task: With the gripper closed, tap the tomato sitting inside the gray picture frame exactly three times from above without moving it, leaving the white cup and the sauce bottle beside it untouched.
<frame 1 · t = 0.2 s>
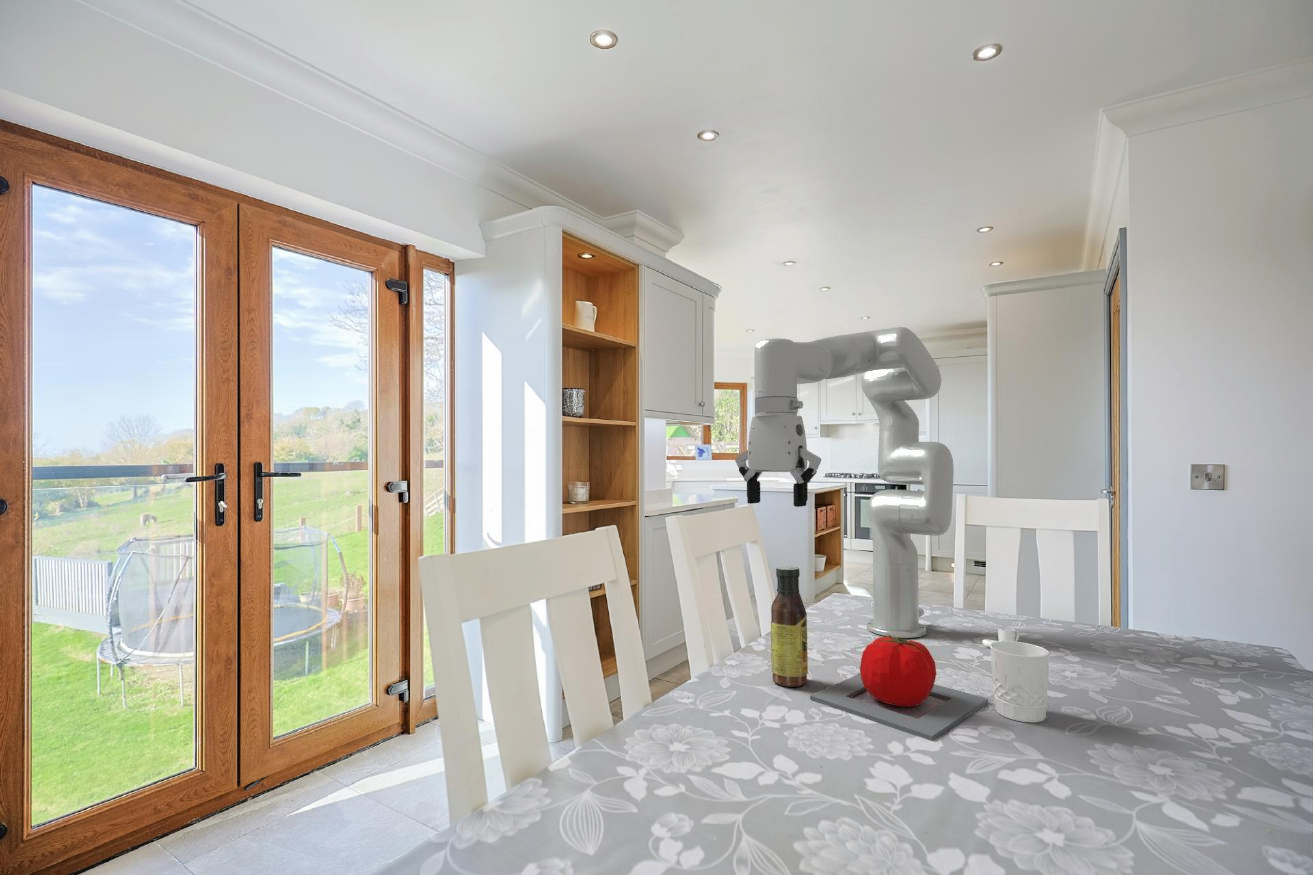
hand: (776, 504, 114), 31 cm above the table, tool pointing down, fingers open, 9 cm apart
teacup and saucer: (991, 646, 134), on the table
white cup: (1020, 715, 98), on the table
gray picture frame: (898, 700, 103), on the table
tomato: (898, 702, 103), resting in gray picture frame
sauce bottle: (789, 683, 111), on the table
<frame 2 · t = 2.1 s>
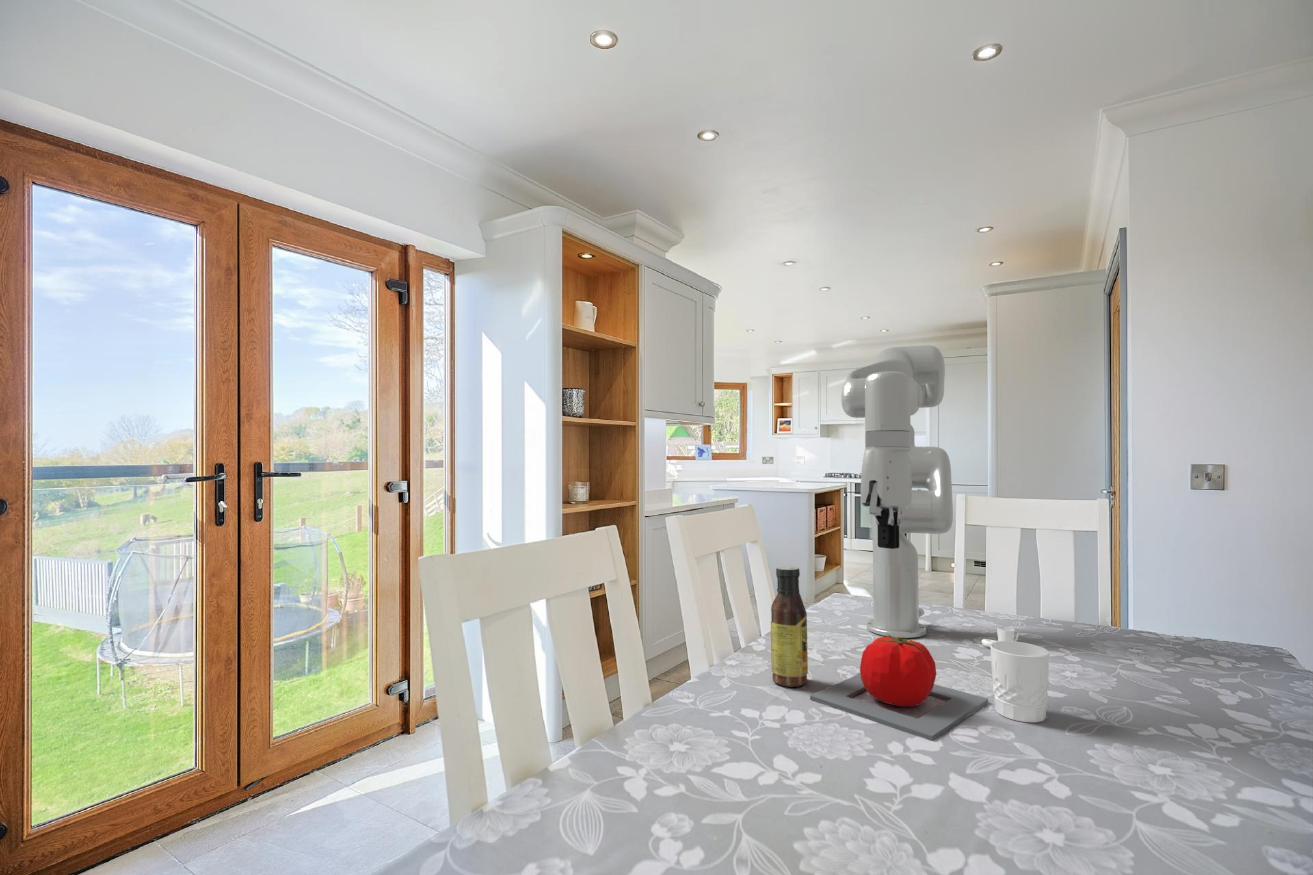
hand: (888, 547, 111), 24 cm above the table, tool pointing down, fingers closed
nothing on the table moved.
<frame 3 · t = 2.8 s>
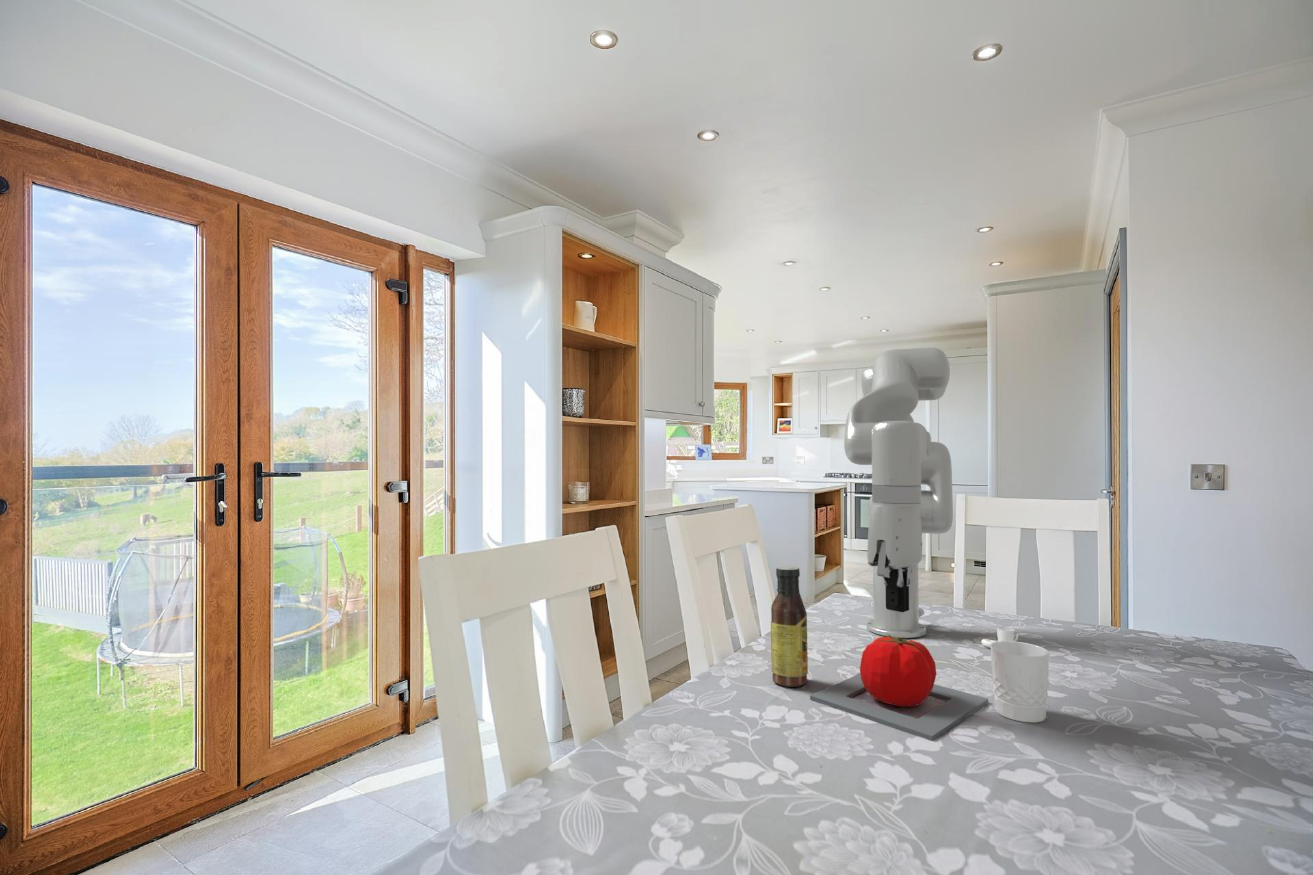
hand: (897, 609, 103), 15 cm above the table, tool pointing down, fingers closed
nothing on the table moved.
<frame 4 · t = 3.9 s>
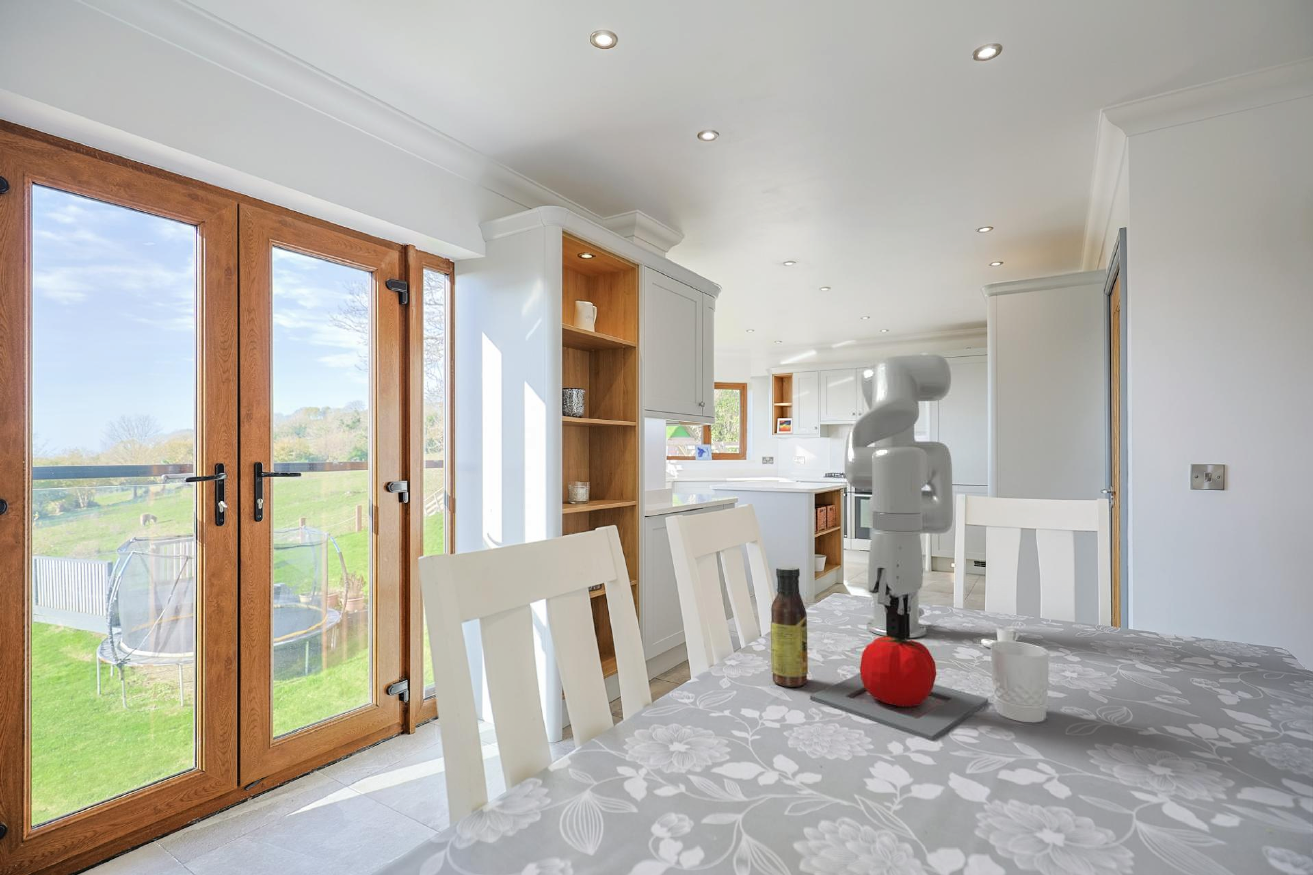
hand: (898, 637, 103), 10 cm above the table, tool pointing down, fingers closed
tomato: (898, 702, 103), resting in gray picture frame, touching gripper
everything else where it was.
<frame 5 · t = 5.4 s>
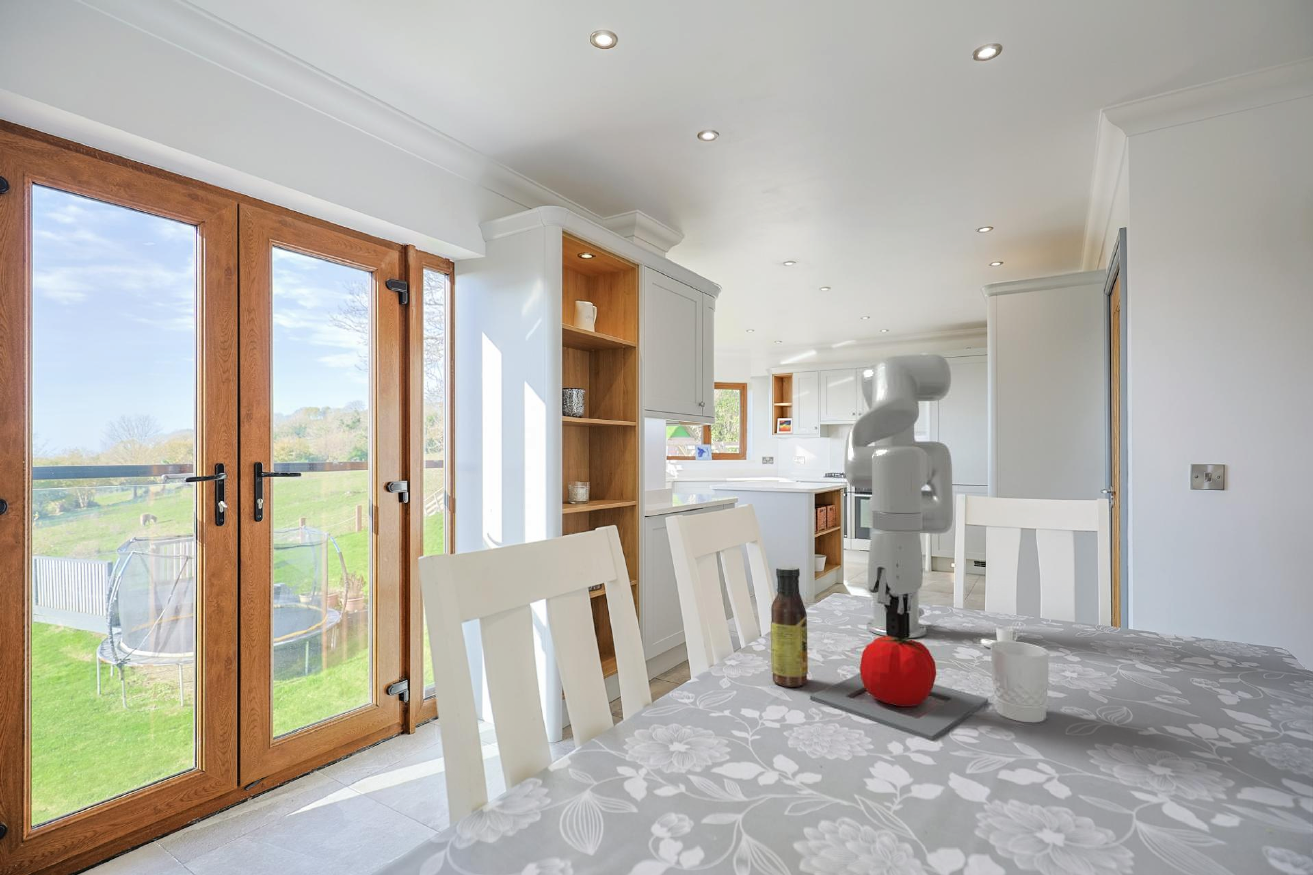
hand: (897, 636, 103), 10 cm above the table, tool pointing down, fingers closed
tomato: (898, 702, 103), resting in gray picture frame
everything else where it was.
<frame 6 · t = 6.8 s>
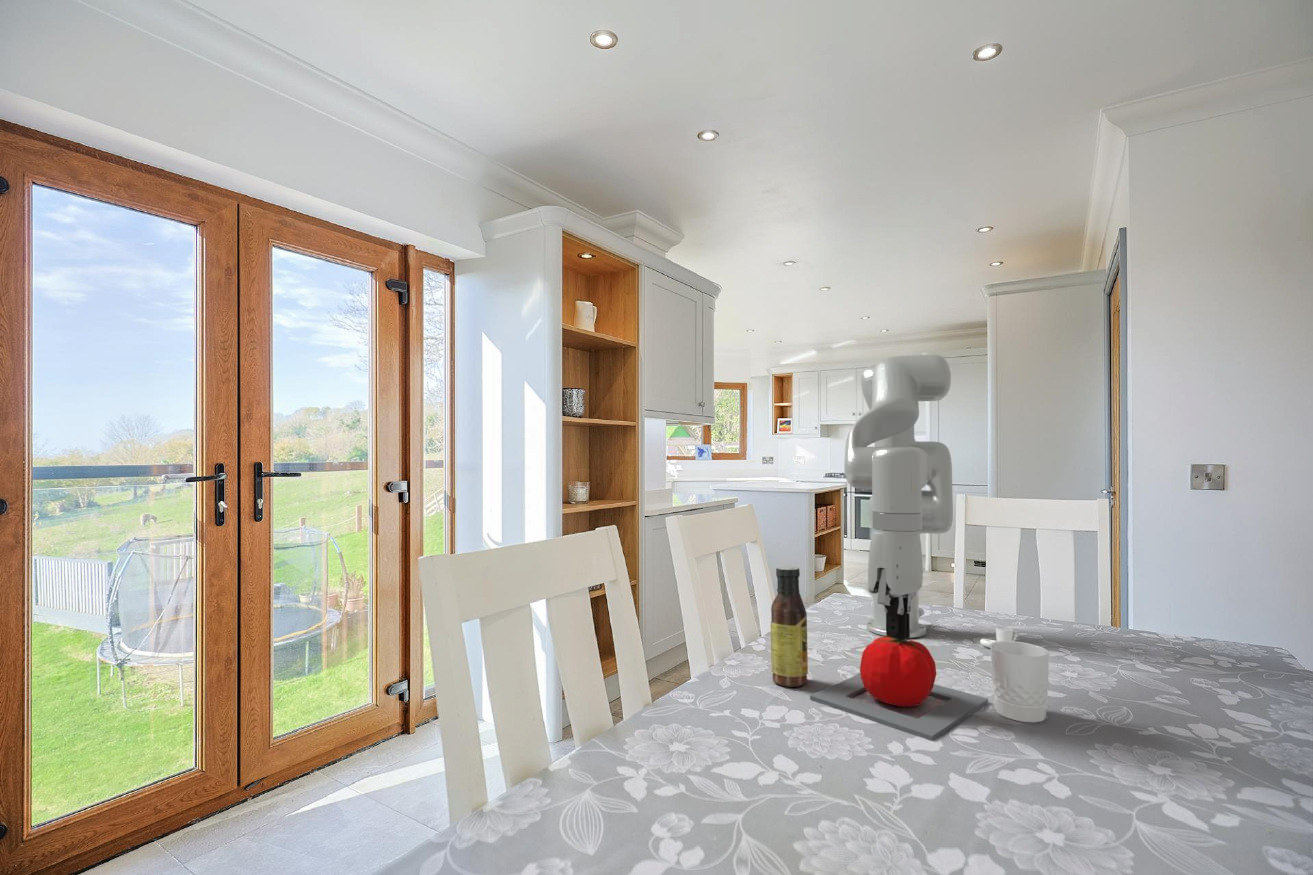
hand: (897, 637, 103), 10 cm above the table, tool pointing down, fingers closed
tomato: (898, 702, 103), resting in gray picture frame, touching gripper
everything else where it was.
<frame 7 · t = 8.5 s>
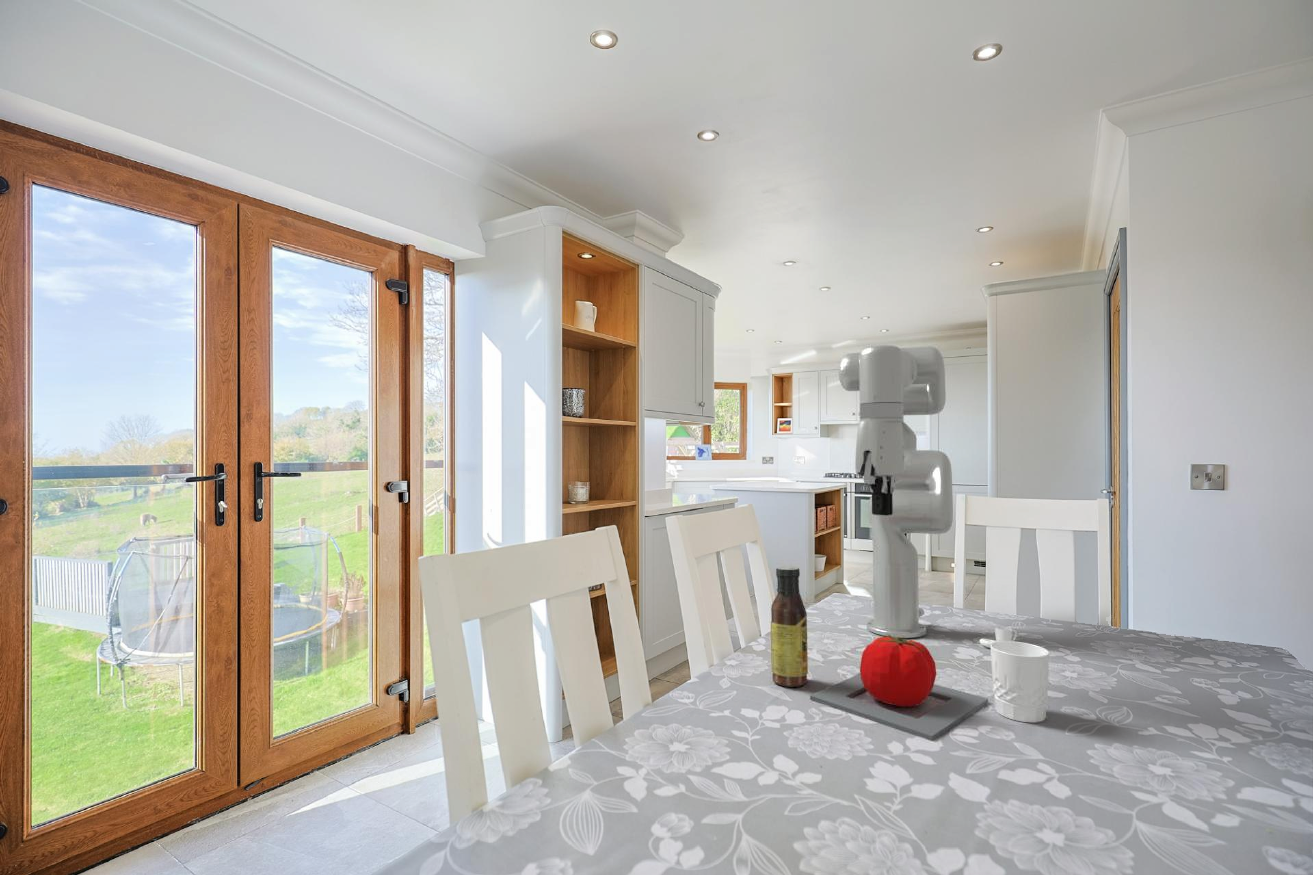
hand: (882, 514, 116), 29 cm above the table, tool pointing down, fingers closed
tomato: (898, 702, 103), resting in gray picture frame
everything else where it was.
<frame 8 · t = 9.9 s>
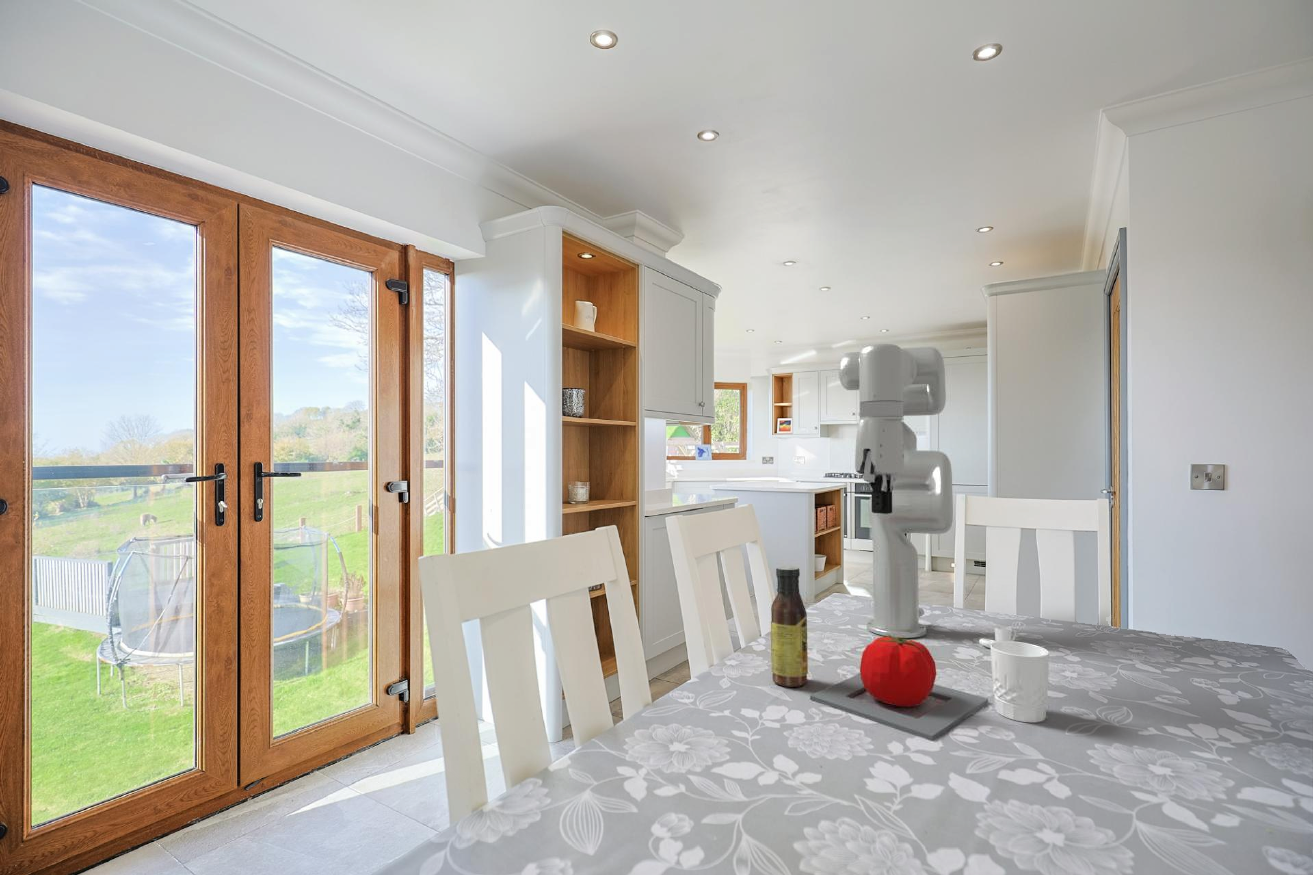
hand: (881, 512, 116), 29 cm above the table, tool pointing down, fingers closed
nothing on the table moved.
at the end: tomato moved 0.2 cm from its start; white cup moved 0.2 cm from its start; sauce bottle moved 0.2 cm from its start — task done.
